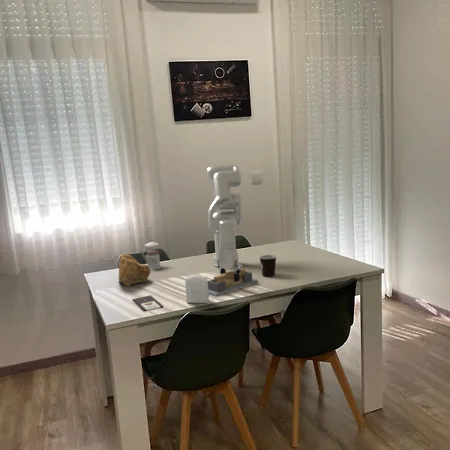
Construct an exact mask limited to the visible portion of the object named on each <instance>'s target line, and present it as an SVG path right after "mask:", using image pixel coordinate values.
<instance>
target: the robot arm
mask: <svg viewBox="0 0 450 450" xmlns="http://www.w3.org/2000/svg"><path fill="white" fill-rule="evenodd" d="M206 175H207V178H208V181H209V182H210V184H211V187H212V188H211V189H212V190H211V191H212V203H211V204H210V206H209V208H208V210H207V211H208V212H207V225H208V230H209V232H210V233H211V234H214V248H215V255H214V256H213V257H212V260H213V261H215V262H213V266H214V267H215V268H218V270H219V271H220V272H219V275H220V274H224V273H227V270H229V271H234V273H235V274H234V282H237V281H240V276H239V273H240V271H241V269H243V265H242V264H241V263H240V262H239V255H238V250H237V247H236V245H237V244H236V230H237V228H238V227H240V226H241V225H242V224H243V207H242V203H243V202H242V197H241V194H240V193H239V192H238V191H237V192H236V191H231V188H235V187H240V186H241V185H242V176H241V171H240V169H239V166H238V165H237V164H223V165H222V164H221V165H220V164H219V165H210V166H208V167H207V169H206ZM217 210H219V211H217ZM220 210H221V211H220ZM236 270H237V271H236Z"/></svg>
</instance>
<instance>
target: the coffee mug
mask: <svg viewBox="0 0 450 450" xmlns="http://www.w3.org/2000/svg"><path fill="white" fill-rule="evenodd" d="M259 260H260V261H259V263H260V267H261V268H260V270H261V273H262V277H263V278H264V277H265V278H273V277H275V276H276V264H277V263H276V261H277V256H276V255H273V254H264V255H260V256H259Z"/></svg>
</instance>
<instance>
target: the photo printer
mask: <svg viewBox="0 0 450 450" xmlns="http://www.w3.org/2000/svg"><path fill="white" fill-rule="evenodd" d="M208 281H209V280H208V277H206V276H204V275H196V274H194V275H189V276H187V277H186V278H185V281H184V282H185V283H184V284H185V295H186V296H185V297H186V299H185V300H186V303H187V304H208V303H209V301H210V298H209V294H208Z"/></svg>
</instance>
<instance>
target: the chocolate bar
mask: <svg viewBox="0 0 450 450" xmlns="http://www.w3.org/2000/svg"><path fill="white" fill-rule="evenodd" d="M132 302H133V303H135V304H136V306H137V307H138V308H140V310H142V311H143V312H149V311H152V310H157V309H163V308H164V305H163V304H161V303H160V302H159V301H158V299H156V298H154V297H153V295H147V296H141V297H137V298H133V299H132Z"/></svg>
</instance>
